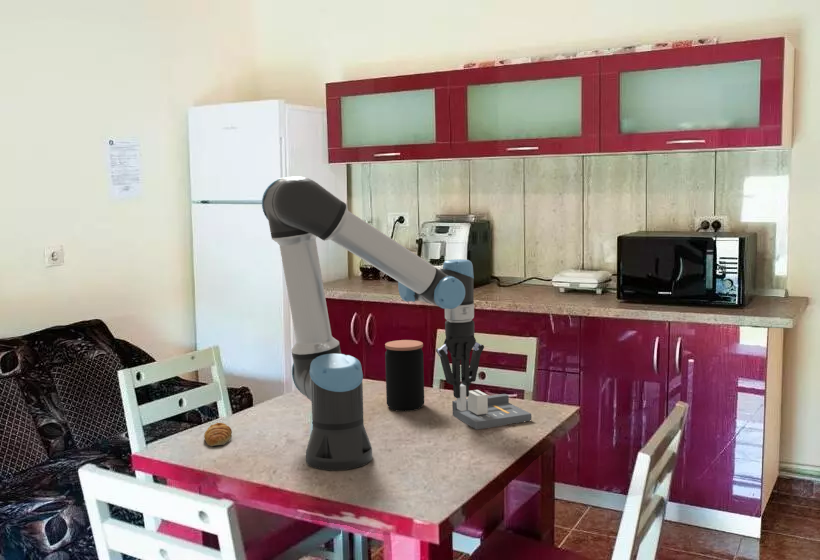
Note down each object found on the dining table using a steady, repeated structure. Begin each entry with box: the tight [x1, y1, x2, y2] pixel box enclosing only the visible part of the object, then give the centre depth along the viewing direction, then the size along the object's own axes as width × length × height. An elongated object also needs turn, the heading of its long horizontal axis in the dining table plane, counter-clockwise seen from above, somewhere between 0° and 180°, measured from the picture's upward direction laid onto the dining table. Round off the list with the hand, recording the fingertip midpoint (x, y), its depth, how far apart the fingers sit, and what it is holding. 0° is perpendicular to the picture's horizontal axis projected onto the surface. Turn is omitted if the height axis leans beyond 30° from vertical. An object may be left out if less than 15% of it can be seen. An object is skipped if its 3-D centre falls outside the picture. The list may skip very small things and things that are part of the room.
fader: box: [467, 389, 489, 415], centre depth 214 cm, size 3×6×5 cm, turn 22°
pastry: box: [203, 422, 233, 447], centre depth 203 cm, size 9×7×4 cm
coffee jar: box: [384, 339, 425, 412], centre depth 229 cm, size 11×11×18 cm
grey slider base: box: [452, 393, 532, 431], centre depth 216 cm, size 16×14×4 cm
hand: (461, 409), depth 213 cm, fingers closed
